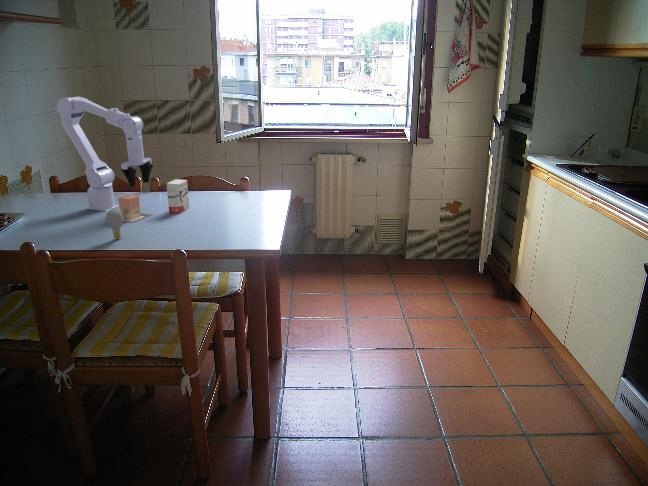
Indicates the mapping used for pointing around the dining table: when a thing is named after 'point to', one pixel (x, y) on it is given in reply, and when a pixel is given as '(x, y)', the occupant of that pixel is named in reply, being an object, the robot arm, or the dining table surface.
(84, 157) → the robot arm
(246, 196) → the dining table surface
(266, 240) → the dining table surface
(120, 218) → the light bulb
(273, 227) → the dining table surface
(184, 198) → the ink box
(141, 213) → the grey flat panel
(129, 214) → the beech block
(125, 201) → the terracotta block
